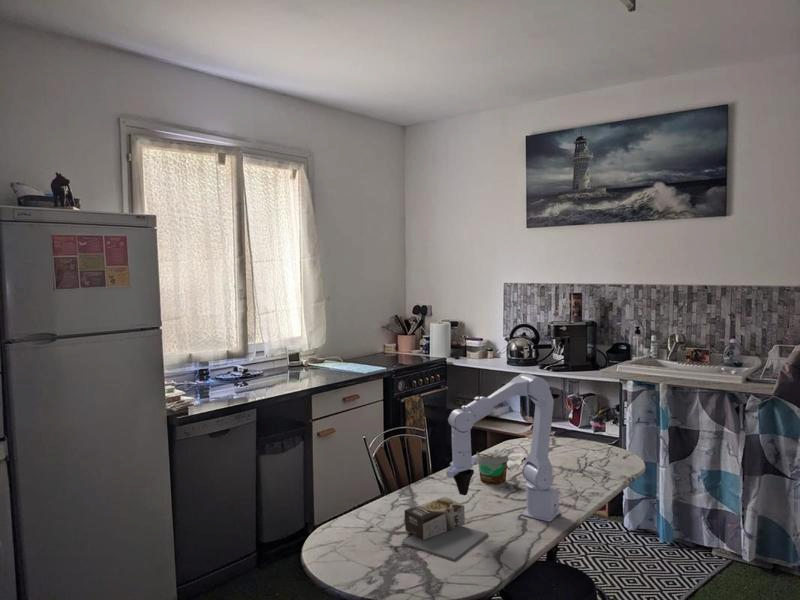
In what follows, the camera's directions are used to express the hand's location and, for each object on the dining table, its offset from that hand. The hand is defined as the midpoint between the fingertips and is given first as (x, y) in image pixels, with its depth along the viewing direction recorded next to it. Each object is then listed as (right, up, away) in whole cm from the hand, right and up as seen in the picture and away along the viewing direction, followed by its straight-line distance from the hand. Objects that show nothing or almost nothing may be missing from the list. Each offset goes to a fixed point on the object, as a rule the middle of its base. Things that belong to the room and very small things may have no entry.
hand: (463, 494), depth 179 cm
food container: (+14, -8, +36) cm, 39 cm away
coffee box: (-2, -6, +4) cm, 7 cm away
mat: (-6, -11, -8) cm, 15 cm away
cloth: (+25, -7, +57) cm, 63 cm away
